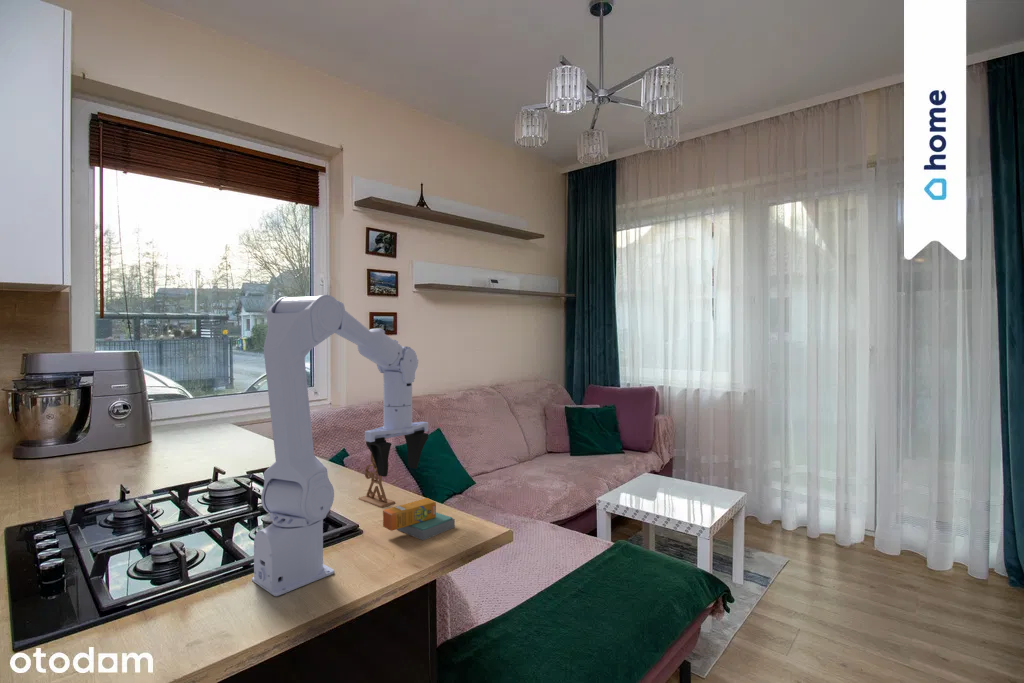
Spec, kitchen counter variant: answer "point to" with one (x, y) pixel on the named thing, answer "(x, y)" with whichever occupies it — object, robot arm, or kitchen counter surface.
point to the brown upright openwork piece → (372, 498)
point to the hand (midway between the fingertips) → (398, 471)
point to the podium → (430, 527)
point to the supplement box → (409, 514)
